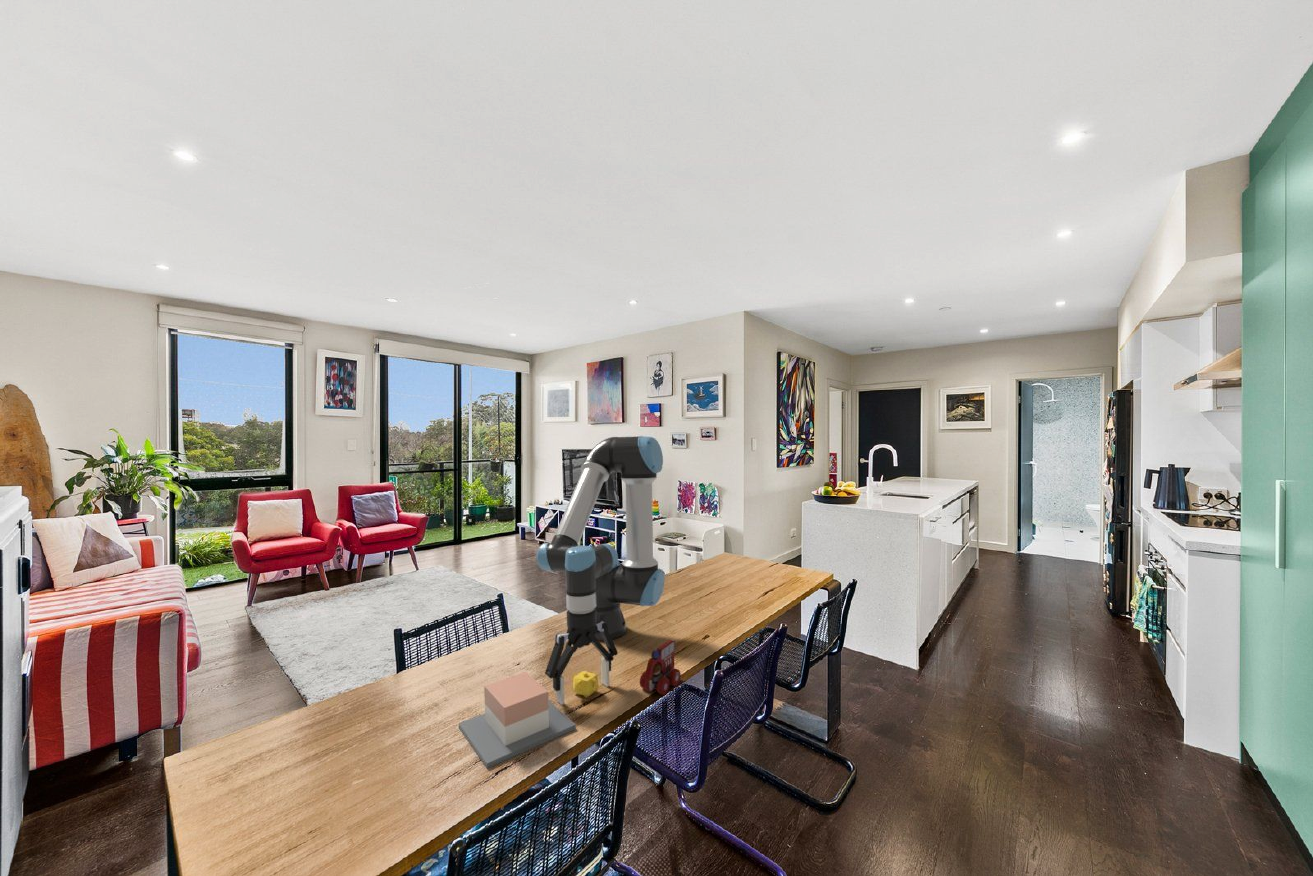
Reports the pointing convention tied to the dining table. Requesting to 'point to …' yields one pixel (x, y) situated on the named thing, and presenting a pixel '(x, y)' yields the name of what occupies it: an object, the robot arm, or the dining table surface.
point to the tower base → (505, 752)
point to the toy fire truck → (661, 670)
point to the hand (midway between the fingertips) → (583, 693)
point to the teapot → (585, 683)
